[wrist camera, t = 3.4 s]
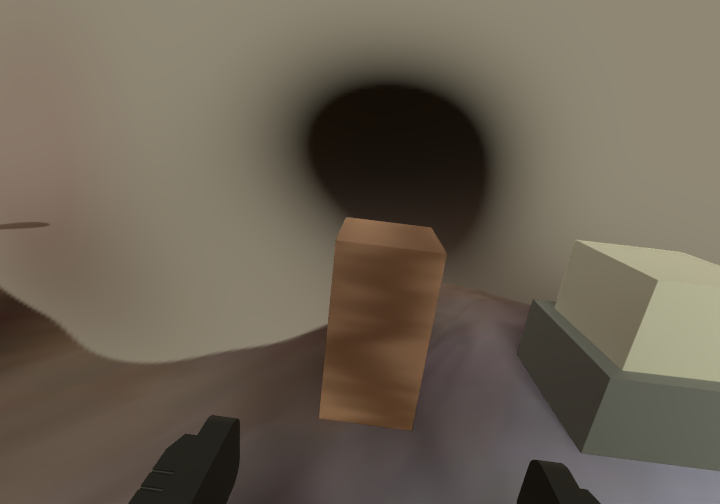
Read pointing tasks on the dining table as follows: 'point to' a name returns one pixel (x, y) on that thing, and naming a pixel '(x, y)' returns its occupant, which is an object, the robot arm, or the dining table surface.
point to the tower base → (619, 399)
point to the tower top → (645, 308)
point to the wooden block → (380, 322)
